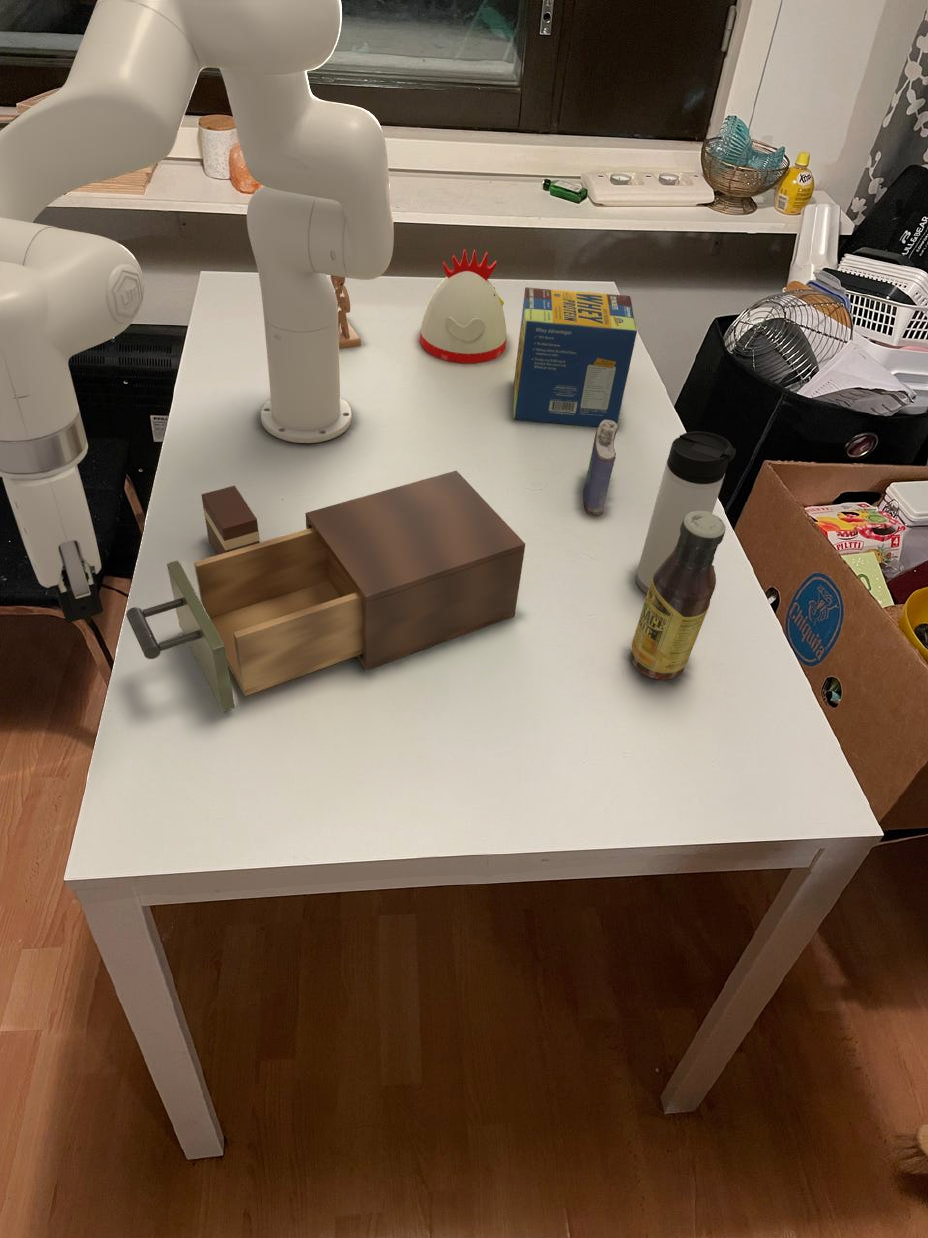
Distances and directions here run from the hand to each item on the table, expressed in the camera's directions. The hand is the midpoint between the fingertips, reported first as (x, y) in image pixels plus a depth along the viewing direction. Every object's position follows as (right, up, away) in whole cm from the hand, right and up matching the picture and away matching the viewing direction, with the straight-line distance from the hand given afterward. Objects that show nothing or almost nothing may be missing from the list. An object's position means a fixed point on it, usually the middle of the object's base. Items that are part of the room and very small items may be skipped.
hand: (83, 612), depth 82 cm
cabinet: (+28, +1, +23) cm, 36 cm away
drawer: (+12, -4, +14) cm, 19 cm away
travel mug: (+58, +3, +28) cm, 64 cm away
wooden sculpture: (+14, +45, +66) cm, 82 cm away
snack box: (+7, +7, +26) cm, 28 cm away
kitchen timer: (+34, +44, +67) cm, 87 cm away
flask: (+51, +16, +40) cm, 67 cm away
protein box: (+49, +31, +55) cm, 80 cm away
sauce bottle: (+55, -6, +18) cm, 58 cm away
